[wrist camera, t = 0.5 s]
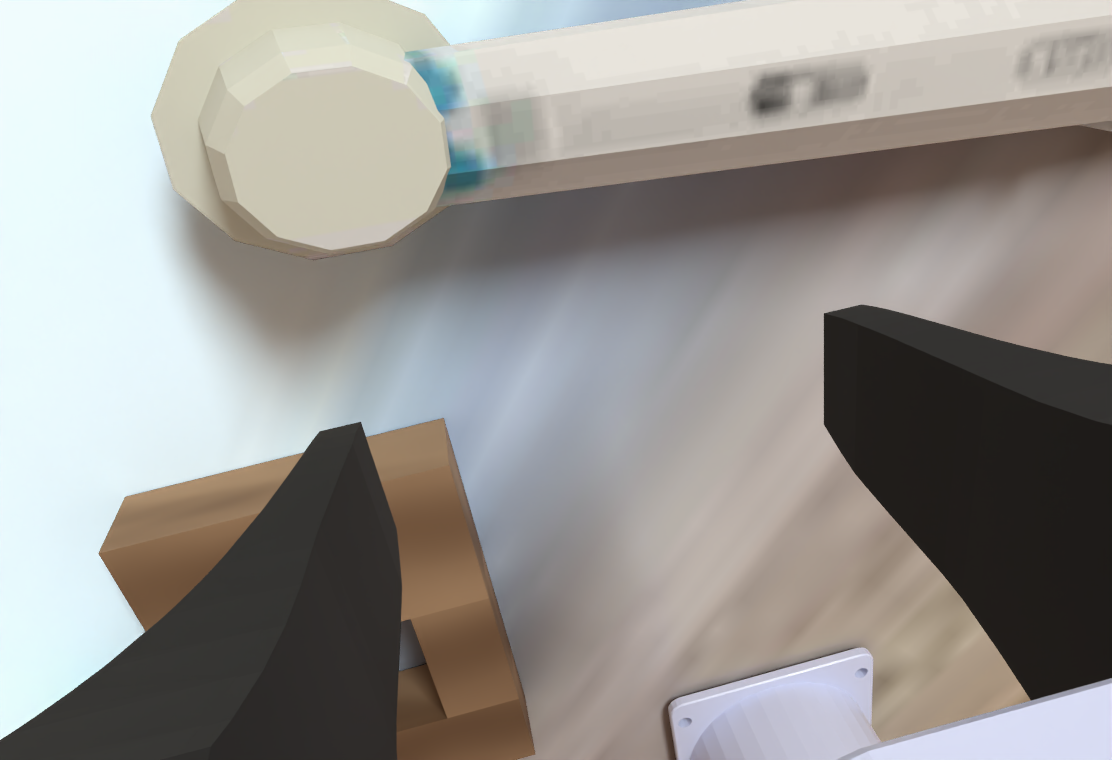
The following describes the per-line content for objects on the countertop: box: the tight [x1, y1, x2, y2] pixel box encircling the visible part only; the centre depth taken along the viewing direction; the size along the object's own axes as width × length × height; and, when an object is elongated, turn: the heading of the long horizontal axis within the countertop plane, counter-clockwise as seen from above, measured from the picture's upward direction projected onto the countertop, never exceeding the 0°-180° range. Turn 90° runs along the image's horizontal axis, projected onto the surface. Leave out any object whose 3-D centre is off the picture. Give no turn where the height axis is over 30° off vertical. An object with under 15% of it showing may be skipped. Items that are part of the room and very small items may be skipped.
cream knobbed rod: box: [151, 0, 1112, 260], centre depth 18 cm, size 5×7×25 cm
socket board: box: [98, 418, 535, 760], centre depth 25 cm, size 12×9×2 cm
